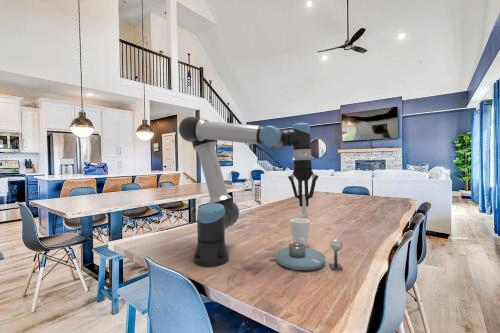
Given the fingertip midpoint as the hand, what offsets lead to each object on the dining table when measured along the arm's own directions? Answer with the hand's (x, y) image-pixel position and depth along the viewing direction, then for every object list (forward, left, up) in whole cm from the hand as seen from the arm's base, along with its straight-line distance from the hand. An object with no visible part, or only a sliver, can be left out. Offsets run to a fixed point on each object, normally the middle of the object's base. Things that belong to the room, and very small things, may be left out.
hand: (304, 214), depth 112 cm
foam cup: (+1, +16, -20) cm, 25 cm away
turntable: (-2, -3, -20) cm, 20 cm away
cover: (-3, -3, -17) cm, 17 cm away
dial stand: (+11, -9, -20) cm, 24 cm away
